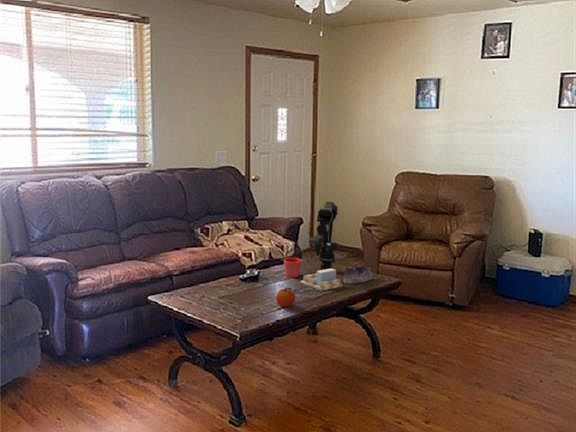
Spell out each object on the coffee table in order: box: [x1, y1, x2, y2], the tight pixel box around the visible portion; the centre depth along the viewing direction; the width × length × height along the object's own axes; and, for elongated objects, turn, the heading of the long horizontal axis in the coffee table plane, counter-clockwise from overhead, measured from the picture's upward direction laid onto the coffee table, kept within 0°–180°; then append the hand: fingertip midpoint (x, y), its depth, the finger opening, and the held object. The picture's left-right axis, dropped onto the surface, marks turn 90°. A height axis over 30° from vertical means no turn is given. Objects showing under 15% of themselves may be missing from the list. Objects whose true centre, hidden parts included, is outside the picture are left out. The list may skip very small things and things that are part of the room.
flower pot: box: [283, 257, 303, 278], centre depth 349 cm, size 11×11×10 cm
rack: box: [300, 272, 344, 292], centre depth 335 cm, size 16×18×4 cm
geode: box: [342, 265, 373, 285], centre depth 344 cm, size 20×12×10 cm, turn 138°
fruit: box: [275, 287, 296, 308], centre depth 295 cm, size 10×10×10 cm
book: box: [315, 267, 337, 286], centre depth 332 cm, size 11×4×8 cm, turn 127°
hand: (322, 257), depth 343 cm, fingers open, 9 cm apart
